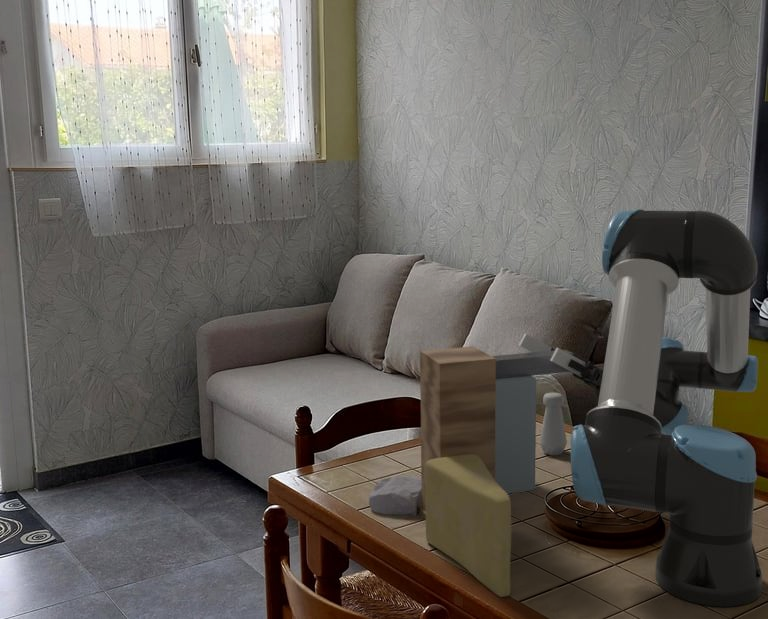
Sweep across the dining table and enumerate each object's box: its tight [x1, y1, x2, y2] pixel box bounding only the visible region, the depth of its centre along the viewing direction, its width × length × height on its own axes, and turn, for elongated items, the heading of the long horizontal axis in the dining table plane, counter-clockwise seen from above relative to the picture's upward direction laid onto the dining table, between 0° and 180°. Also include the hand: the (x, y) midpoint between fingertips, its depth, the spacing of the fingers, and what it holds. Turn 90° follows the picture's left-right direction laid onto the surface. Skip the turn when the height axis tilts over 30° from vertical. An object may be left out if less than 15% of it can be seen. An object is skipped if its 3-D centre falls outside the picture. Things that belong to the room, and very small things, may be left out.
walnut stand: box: [417, 345, 496, 521], centre depth 158 cm, size 11×11×30 cm
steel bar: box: [491, 349, 575, 379], centre depth 173 cm, size 4×24×4 cm, turn 107°
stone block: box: [368, 475, 422, 516], centre depth 169 cm, size 12×5×10 cm
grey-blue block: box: [495, 376, 537, 495], centre depth 174 cm, size 8×14×22 cm, turn 107°
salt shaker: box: [538, 392, 568, 457], centre depth 193 cm, size 6×6×13 cm
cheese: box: [425, 454, 512, 598], centre depth 142 cm, size 22×10×15 cm, turn 17°
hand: (537, 346), depth 173 cm, fingers open, 13 cm apart
